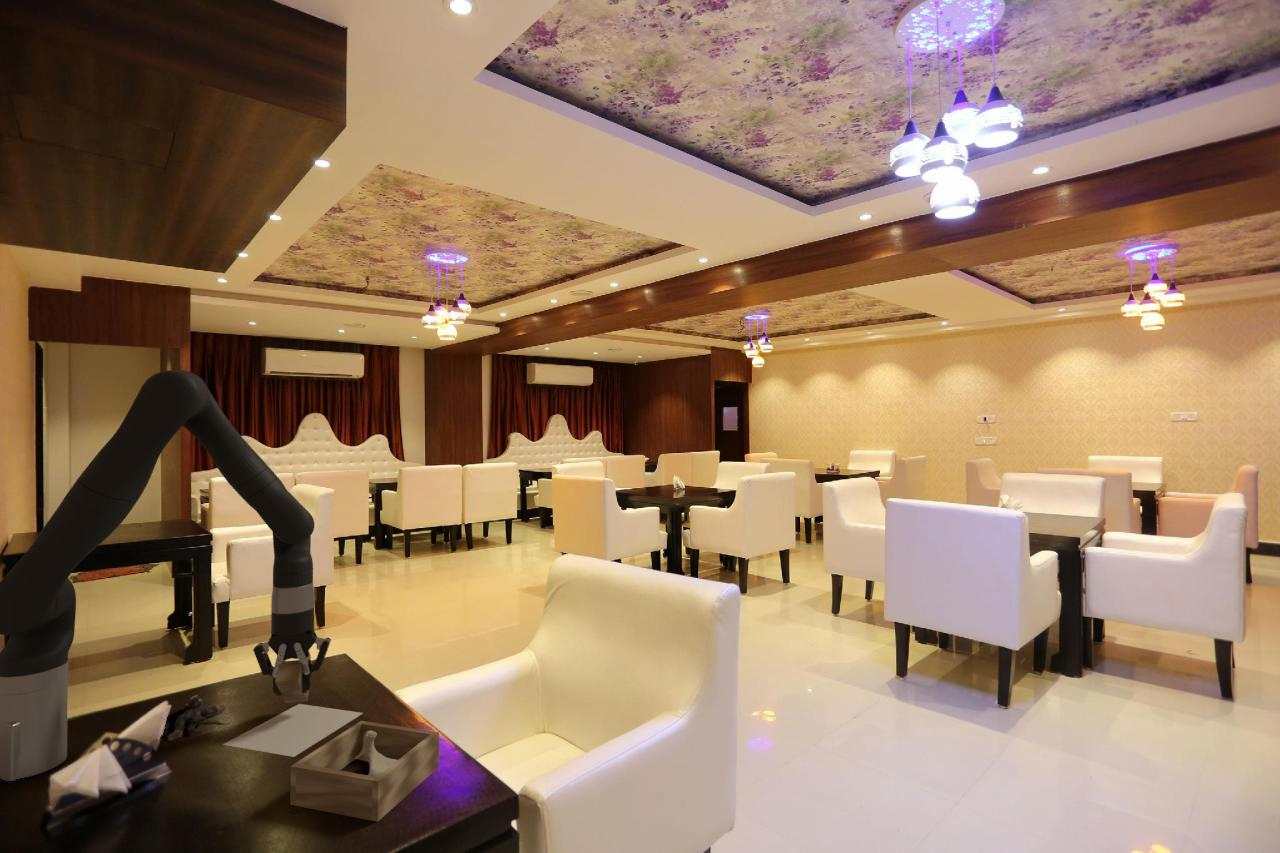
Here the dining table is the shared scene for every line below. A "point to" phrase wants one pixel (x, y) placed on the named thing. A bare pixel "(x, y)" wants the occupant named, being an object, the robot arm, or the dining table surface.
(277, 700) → the dining table surface
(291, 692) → the walnut block
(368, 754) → the bone
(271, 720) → the mat
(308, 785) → the bone crate
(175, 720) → the dark grey knobby piece
